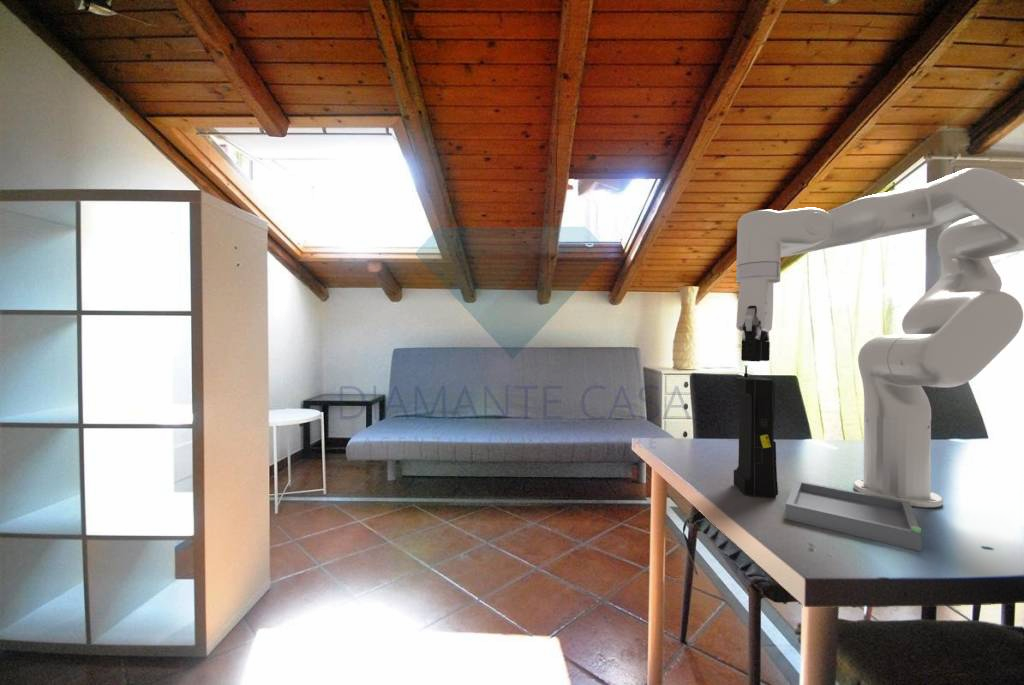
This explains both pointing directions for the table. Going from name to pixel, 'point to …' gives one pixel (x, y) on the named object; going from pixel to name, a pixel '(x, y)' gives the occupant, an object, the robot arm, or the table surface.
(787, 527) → the table surface
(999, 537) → the table surface
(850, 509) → the tray
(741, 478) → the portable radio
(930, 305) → the robot arm
